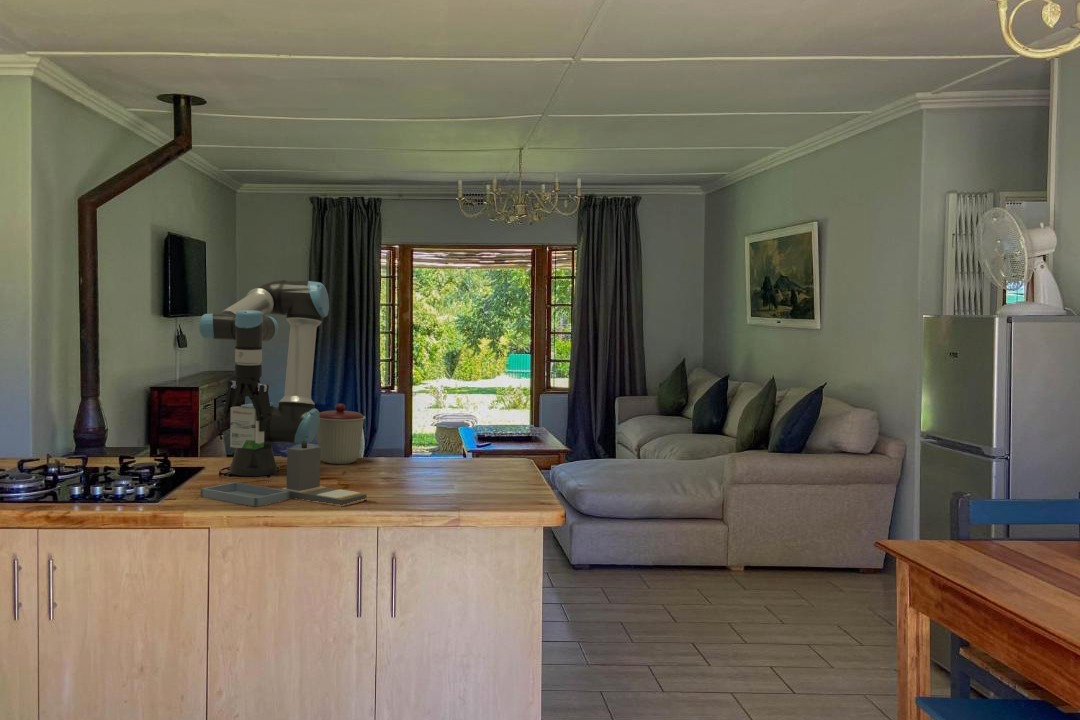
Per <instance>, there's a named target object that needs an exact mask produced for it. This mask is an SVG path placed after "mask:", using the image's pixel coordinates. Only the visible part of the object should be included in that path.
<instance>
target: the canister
mask: <svg viewBox="0 0 1080 720" xmlns="http://www.w3.org/2000/svg"><path fill="white" fill-rule="evenodd" d="M334 408H335V410H324V411H321V412H320V411H319V413H320V416H319V417H320V423H319V428H318V431H317V434H316V437H317V447H321V458H320V461H322V462H323V463H327V464H331V465H332V464H333V465H344V464H345V465H346V464H348V465H349V464H352V463H355V462H356V461H357V459H358V458H359V454H360V447H361V441H362V435H363V428H364V421H365V419H366V416H365V415H363V414H362V413H360V412H357V411H352V410H351V411H350V410H345V409H346V405H345V404H344V403H337V404H336V405H334Z"/></svg>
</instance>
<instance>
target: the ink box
mask: <svg viewBox="0 0 1080 720" xmlns="http://www.w3.org/2000/svg"><path fill="white" fill-rule="evenodd" d="M261 416H262V415H261ZM257 419H258V418H257V415H256V410H255V409H254V407H247V406H236V407H232V408H231V422H230V421H229V424H230V426H229V428H230V432H229V433H230V434H229V435H230V437H229V441H230V442H229V444H230V445H229V447H230V448H235V449H236V448H246V449H258V448H262V447H264V442H262V443H255V435H256V421H257Z"/></svg>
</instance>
